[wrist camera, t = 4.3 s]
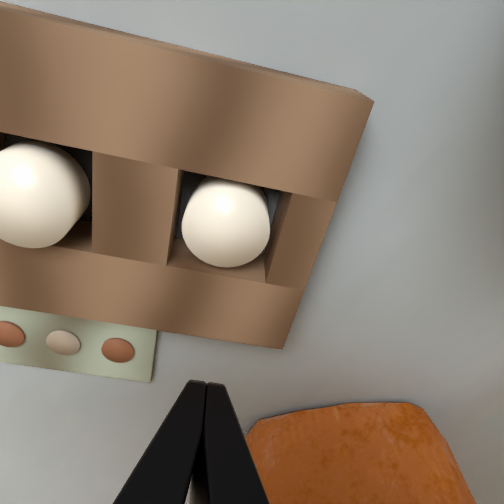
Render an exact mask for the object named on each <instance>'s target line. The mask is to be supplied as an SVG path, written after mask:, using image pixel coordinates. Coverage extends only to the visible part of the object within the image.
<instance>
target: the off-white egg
mask: <svg viewBox="0 0 504 504" xmlns="http://www.w3.org/2000/svg"><path fill="white" fill-rule="evenodd" d="M90 196H91V191H90V185H89V181H88V178H87V176H86V174H85V172H84V170H83V169H82V167H81V166H80V165H79V163H78V162H77V161H76V160H75V159H74V158H73V157H72V156H71V155H69V154H68V153H67V152H65V151H64V150H62V149H61V148H59V147H57V146H55V145H53V144H50V143H47V142H43V141H37V140H27V141H21V142H18V143H15V144H13V145H11V146H9V147H7V148H5V149H4V150H2V151H0V239H2V240H4V241H6V242H8V243H10V244H13V245H16V246H20V247H25V248H43V247H48V246H51V245H53V244H55V243H57V242H58V241H60V240H61V239H62V238H63V237H64V236H65V235H66V234H67V232H68V231H69V230H70V229H71V228H72V226H73V225H74V224H75V223H76V222H77V221H78V219H79V218H80V217H81V216H82V215H83V214H84V212H85V211H86V209H87V208H88V205H89V202H90Z"/></svg>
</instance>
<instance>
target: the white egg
mask: <svg viewBox="0 0 504 504" xmlns="http://www.w3.org/2000/svg"><path fill="white" fill-rule="evenodd" d="M182 234H183V238H184V241H185V243H186V245H187V247H188V248H189V249H190V251H191V252H192V253H193V254H194V255H195V256H196V257H198V258H199V259H200V260H202V261H204V262H206V263H208V264H211V265H214V266H218V267H236V266H241V265H244V264H246V263H248V262H250V261H252V260H253V259H255V258H256V257H257V256H258V255H259V254H260V253H261V252H262V251H263V250H264V248H265V246H266V245H267V242H268V240H269V235H270V223H269V214H268V205H267V200H266V197H265V195H264V193H263V191H262V189H261V188H260V187H259V186H257V185H252V184H247V183H243V182H238V181H233V180H228V179H223V178H219V177H214V176H207V177H205V178H204V179H203V180H201V181H200V182H199V183H198V184H197V185H196V186H195V188H194V189H193V191H192V193H191V195H190V198H189V201H188V204H187V207H186V210H185V213H184V216H183V220H182Z"/></svg>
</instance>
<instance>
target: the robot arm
mask: <svg viewBox="0 0 504 504" xmlns="http://www.w3.org/2000/svg"><path fill="white" fill-rule="evenodd" d="M190 481H191V485H190ZM189 485H190V504H270V503H269V500H268V498H267V495H266V493H265V490H264V487H263V485H262V482H261V479H260V477H259V474H258V471H257V469H256V466H255V463H254V461H253V458H252V456H251V453H250V450H249V448H248V445H247V442H246V440H245V437H244V434H243V432H242V429H241V427H240V424H239V421H238V419H237V416H236V413H235V411H234V408H233V405H232V403H231V400H230V397H229V395H228V392H227V390H226V387H225V386H224V385H223V384H219V383H212V382H209V383H207V385H206V383H205V382H204V381H197V380H189V381H188V382H187V384H186V386H185V387H184V389H183V390H182V392H181V394H180V395H179V397H178V399H177V400H176V402H175V403H174V405H173V407H172V408H171V410H170V412H169V413H168V415H167V416H166V418H165V420H164V421H163V423H162V425H161V426H160V428H159V429H158V431H157V433H156V434H155V436H154V438H153V439H152V441H151V442H150V444H149V446H148V447H147V449H146V451H145V452H144V454H143V455H142V457H141V459H140V460H139V462H138V464H137V465H136V467H135V468H134V470H133V472H132V473H131V475H130V477H129V478H128V480H127V481H126V483H125V485H124V486H123V488H122V490H121V491H120V493H119V494H118V496H117V498H116V499H115V501H114V502H113V504H185V500H186V496H187V493H188V489H189Z"/></svg>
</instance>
